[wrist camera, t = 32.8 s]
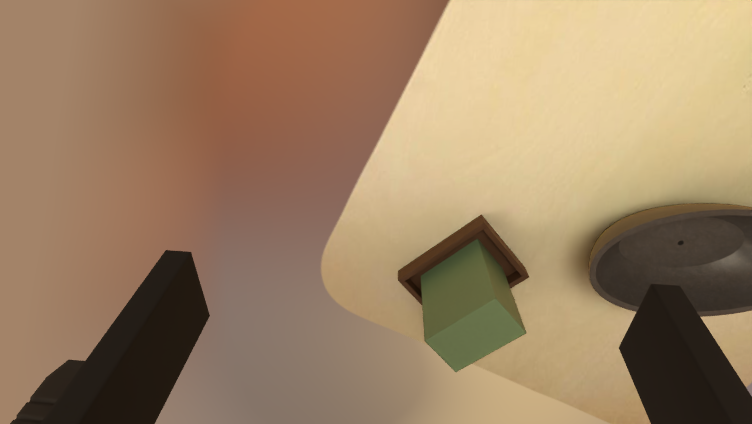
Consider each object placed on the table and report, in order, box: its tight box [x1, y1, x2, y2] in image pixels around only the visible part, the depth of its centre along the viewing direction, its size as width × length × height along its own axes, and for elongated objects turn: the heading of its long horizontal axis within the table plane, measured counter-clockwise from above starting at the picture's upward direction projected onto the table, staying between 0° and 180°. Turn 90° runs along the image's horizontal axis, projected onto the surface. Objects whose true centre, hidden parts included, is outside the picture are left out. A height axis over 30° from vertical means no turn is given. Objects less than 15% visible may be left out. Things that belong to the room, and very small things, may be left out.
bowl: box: [589, 203, 752, 317], centre depth 46 cm, size 12×22×6 cm, turn 93°
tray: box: [398, 215, 529, 305], centre depth 51 cm, size 9×12×2 cm
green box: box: [421, 239, 526, 372], centre depth 47 cm, size 5×8×11 cm, turn 130°
